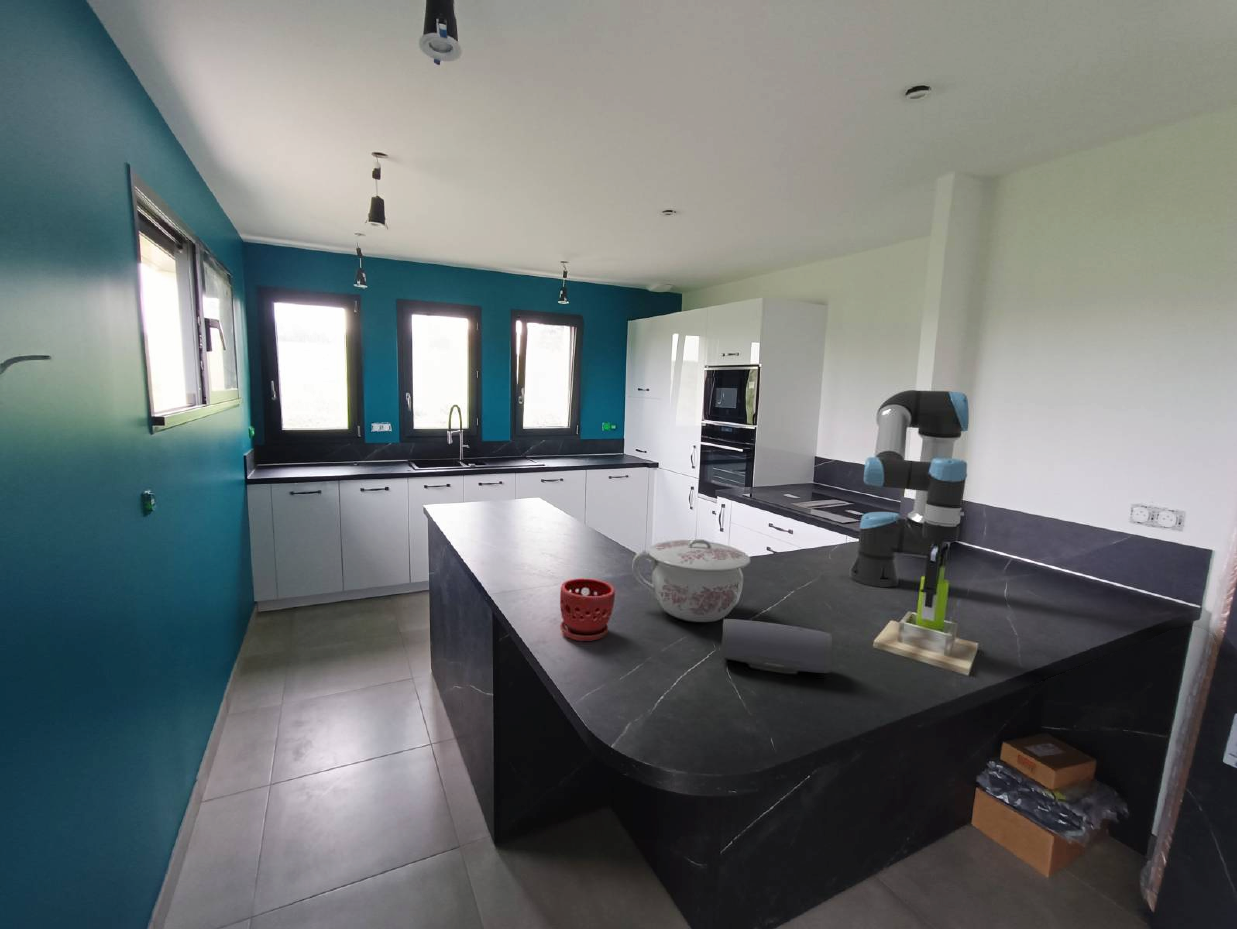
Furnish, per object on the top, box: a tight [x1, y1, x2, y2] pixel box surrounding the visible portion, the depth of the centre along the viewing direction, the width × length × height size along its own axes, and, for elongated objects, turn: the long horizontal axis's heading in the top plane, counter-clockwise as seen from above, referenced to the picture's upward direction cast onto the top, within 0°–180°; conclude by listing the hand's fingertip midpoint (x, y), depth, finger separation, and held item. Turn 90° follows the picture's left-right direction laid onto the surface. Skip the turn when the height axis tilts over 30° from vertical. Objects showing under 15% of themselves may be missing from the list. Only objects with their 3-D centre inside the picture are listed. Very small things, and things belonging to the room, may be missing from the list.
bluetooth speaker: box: [720, 618, 833, 675], centre depth 122 cm, size 23×9×10 cm, turn 77°
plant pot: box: [559, 578, 616, 642], centre depth 134 cm, size 13×13×12 cm
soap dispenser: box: [916, 562, 950, 632], centre depth 135 cm, size 6×7×20 cm
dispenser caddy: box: [872, 611, 979, 676], centre depth 136 cm, size 20×18×6 cm
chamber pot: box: [631, 538, 751, 623], centre depth 151 cm, size 28×28×21 cm
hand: (929, 615), depth 136 cm, fingers closed on soap dispenser, 6 cm apart
